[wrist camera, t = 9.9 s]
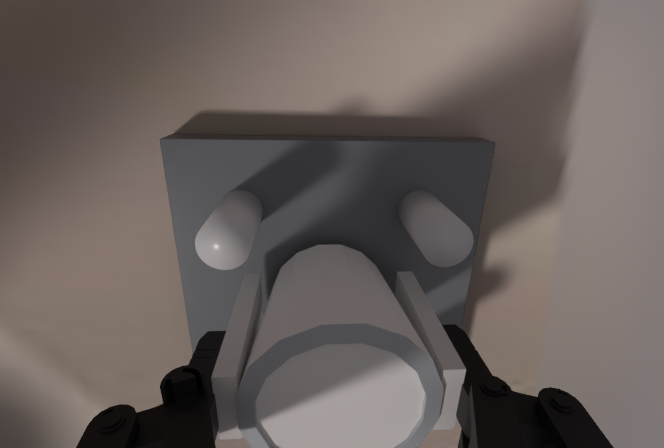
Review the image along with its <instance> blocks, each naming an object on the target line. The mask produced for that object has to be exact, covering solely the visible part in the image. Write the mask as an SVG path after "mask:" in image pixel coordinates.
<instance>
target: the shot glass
mask: <svg viewBox="0 0 664 448" xmlns="http://www.w3.org/2000/svg"><path fill="white" fill-rule="evenodd" d="M443 392H444V388H443V386H442V383H441V380H440V377H439V375H438V372H437V369H436V366H435V364H434V361H433V359H432V357H431V356H430V354H429V352H428V351H427V349H426V347H425V346H424V344H423V342H422V341H421V339H420V337H419V336H418V334H417V332H416V331H415V329H414V327H413V326H412V324H411V322H410V321H409V319H408V317H407V316H406V314H405V312H404V311H403V309H402V308H401V306H400V304H399V303H398V301H397V299H396V298H395V296H394V294H393V293H392V291H391V289H390V288H389V286H388V284H387V283H386V281H385V279H384V278H383V276H382V274H381V273H380V271H379V269H378V268H377V266H376V265H375V264H374V263H373V262H372V261H371V260H370V259H368V258H367V257H366V256H365V255H364V254H363V253H362V252H360V251H357V250H355V249H352V248H349V247H347V246H344V245H341V244H333V245H316V246H313V247H311V248H308V249H306V250H303V251H301V252H298V253H296V254H295V255H294V256H293V257H292V258H291V259H290V260H289V261H288V262H287V263H285V264H284V265H283V266H282V267H281V269H280V271H279V274H278V276H277V278H276V281H275V283H274V285H273V288H272V291H271V294H270V297H269V300H268V303H267V306H266V309H265V311H264V314H263V317H262V320H261V323H260V326H259V329H258V332H257V335H256V338H255V341H254V344H253V347H252V350H251V353H250V355H249V358H248V361H247V364H246V367H245V370H244V373H243V376H242V379H241V382H240V385H239V388H238V391H237V394H236V397H235V402H236V412H237V421H238V429H239V430H240V432H241V433H242V434H243V436H244V437H245V439H246V440H247V441H248V443H249V444H250V446H251V447H252V448H417V447H419V446H420V445H421V443H422V442H423V441H424V439H425V438H426V436H427V435H428V434H429V432H430V431H431V429H432V428H433V427H434V425H435V424H436V422H437V421H438V420H439V415H440V409H441V403H442V398H443Z"/></svg>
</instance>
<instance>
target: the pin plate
mask: <svg viewBox="0 0 664 448" xmlns="http://www.w3.org/2000/svg"><path fill="white" fill-rule="evenodd" d="M160 144H161V151H162V157H163V164H164V170H165V177H166V183H167V190H168V196H169V203H170V209H171V215H172V222H173V228H174V235H175V241H176V248H177V254H178V261H179V267H180V274H181V280H182V287H183V293H184V300H185V306H186V313H187V319H188V326H189V332H190V339H191V345H192V352H193V353H194V351H195V349H196V346H197V344H198V341H199V339H200V338H201V337H202V336H204V335H205V334H206V333H207V332H208V331H226V330H227V327H228V324H229V321H230V318H231V315H232V312H233V309H234V306H235V303H236V300H237V297H238V294H239V291H240V287H241V284H242V281H243V278H244V275H245V274H261V285H262V301H263V314H264V311H265V309H266V306H267V303H268V300H269V297H270V294H271V291H272V288H273V285H274V283H275V281H276V278H277V276H278V274H279V271H280V269H281V267H282V266H283V265H284V264H285V263H287V262H288V261H289V260H290V259H291V258H292V257H293V256H294V255H295V254H296V253H298V252H301V251H303V250H306V249H308V248H311V247H313V246H316V245H333V244H341V245H344V246H347V247H349V248H352V249H355V250H357V251H360V252H362V253H363V254H364V255H365V256H366V257H367V258H368V259H370V260H371V261H372V262H373V263H374V264H375V265H376V266H377V268H378V269H379V271H380V273H381V274H382V276H383V278H384V279H385V281H386V283H387V284H388V286H389V288H390V289H391V291H392V293H393V294H394V296H395V288H396V278H397V272H403V271H412V272H413V274H414V276H415V278H416V279H417V281H418V283H419V285H420V287H421V288H422V290H423V292H424V294H425V296H426V297H427V299H428V301H429V303H430V305H431V306H432V308H433V310H434V312H435V314H436V315H437V317H438V319H439V321H440V323H441V324H442V325H448V324H456V325H457V326H458V327H459V328H461V326H462V320H463V315H464V309H465V304H466V299H467V293H468V288H469V282H470V277H471V272H472V266H473V261H474V255H475V250H476V245H477V239H478V234H479V228H480V223H481V218H482V212H483V207H484V201H485V196H486V191H487V185H488V180H489V174H490V169H491V164H492V158H493V153H494V147H495V142H492V141H489V140H486V139H482V138H440V137H355V136H269V135H183V134H172V135H169V136H166V137H164V138H161V139H160Z"/></svg>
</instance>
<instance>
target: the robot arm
mask: <svg viewBox="0 0 664 448" xmlns="http://www.w3.org/2000/svg"><path fill="white" fill-rule="evenodd" d="M395 298H396V299H397V301H398V303H399V304H400V306H401V308H402V309H403V311H404V312H405V314H406V316H407V317H408V319H409V321H410V322H411V324H412V326H413V327H414V329H415V331H416V332H417V334H418V336H419V337H420V339H421V341H422V342H423V344H424V346H425V347H426V349H427V351H428V352H429V354H430V356H431V357H432V359H433V361H434V364H435V366H436V369H437V372H438V375H439V377H440V380H441V383H442V386H443V388H444V392H443V398H442V403H441V409H440V415H439V420H438V421H437V422H436V424H435V425H434V427H433V430H446V429H454V428H455V423H456V418H457V419H458V421H459V423H460V426H461V428H462V430H461V435H460V439H459V444H458V448H613V446H612V445H611V444H610V442H609V441H608V440H607V438H606V437H605V435H604V434H603V433H602V431H601V430H600V429H599V427H598V426H597V425H596V423H595V422H594V420H593V419H592V418H591V416H590V415H589V414H588V412H587V411H586V410H585V408H584V407H583V406H582V404H581V403H580V402H579V401H578V400H577V399H576V398H575V397H573V396H572V395H570V394H569V393H567V392H565V391H562V390H560V389H556V388H544V389H542V390H541V391H539V394H538V397H535V396H530V395H526V394H521V393H517V392H514V391H512V390H511V388H510V387H509V386H508V385H507V384H506V383H505V382H504V381H503V380H501V379H499V378H498V377H495V376H492V374H491V373H490V371H489V369H488V368H487V366H486V365H485V363H484V361H483V360H482V358H481V357H480V355H479V353H478V352H477V350H475V347H474V346H473V344H472V343H471V341H470V339H469V338H468V336H467V334H466V333H465V332H464V331H463V330H462V329H461V328H459V327H458V326H457V325H456V324H448V325H442V324H441V323H440V321H439V319H438V317H437V315H436V314H435V312H434V310H433V308H432V306H431V305H430V303H429V301H428V299H427V297H426V296H425V294H424V292H423V290H422V288H421V287H420V285H419V283H418V281H417V279H416V278H415V276H414V274H413V272H412V271H403V272H397V278H396V288H395ZM262 317H263V301H262V285H261V274H245V275H244V278H243V281H242V284H241V287H240V291H239V294H238V297H237V300H236V303H235V306H234V309H233V312H232V315H231V318H230V321H229V324H228V327H227V330H226V331H208V332H207V333H206V334H205V335H204V336H202V337H201V338H200V339H199V341H198V344H197V346H196V349H195V351H194V353H193V356H192V359H191V360H190V363H189V365H186V366H181V367H179V368H176V369H174V370H172V371H171V372H169V373H168V374H167V375H166V376H165V377H164V378H163V380H162V382H161V385H160V389H161V394H162V399H163V404H161V405H160V406H157V407H154V408H151V409H148V410H145V411H141V412H138V413H136V411H135V409H134V408H133V407H131V406H129V405H116V406H112V407H110V408H108V409H106V410H104V411H102V412H100V413H99V414H98V415H97V416H95V417H94V418H93V419H92V421H91V422H90V423H89V425H88V426H87V428H86V430H85V432H84V434H83V436H82V437H81V439H80V441H79V443H78V445H77V447H76V448H216V447H215V439H216V435H217V432H218V433H219V440H221V439H242V436H243V434H242V433H241V432H240V430H239V429H238V421H237V412H236V402H235V397H236V394H237V391H238V388H239V385H240V382H241V379H242V376H243V373H244V370H245V367H246V364H247V361H248V358H249V355H250V353H251V350H252V347H253V344H254V341H255V338H256V335H257V332H258V329H259V326H260V323H261V320H262Z"/></svg>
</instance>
